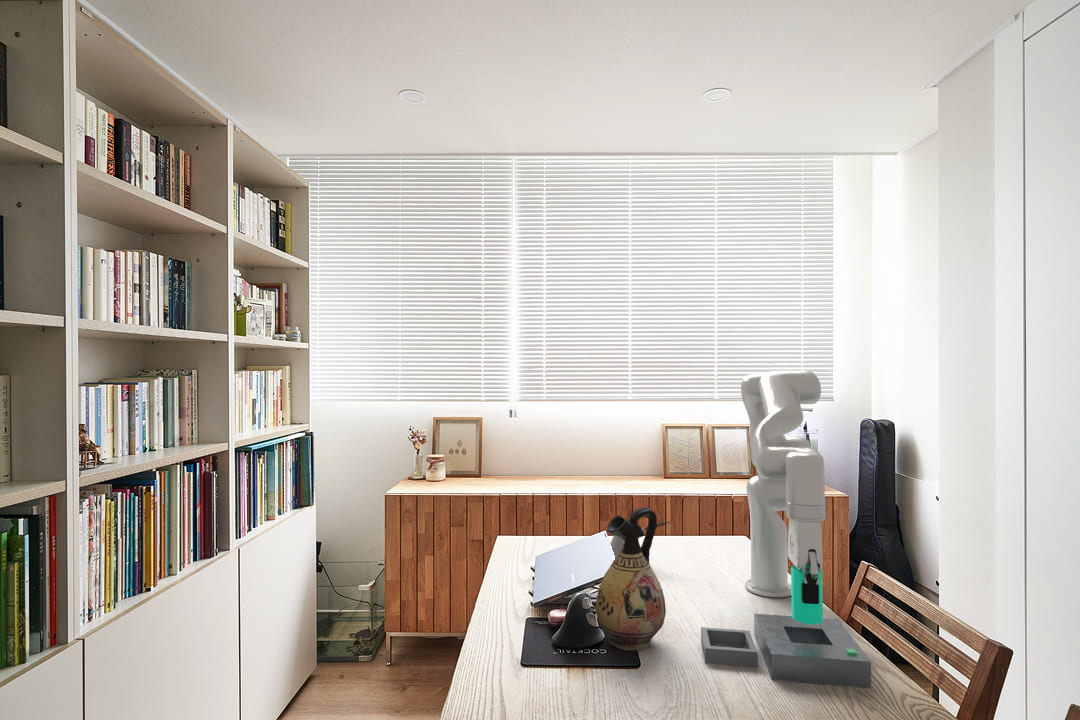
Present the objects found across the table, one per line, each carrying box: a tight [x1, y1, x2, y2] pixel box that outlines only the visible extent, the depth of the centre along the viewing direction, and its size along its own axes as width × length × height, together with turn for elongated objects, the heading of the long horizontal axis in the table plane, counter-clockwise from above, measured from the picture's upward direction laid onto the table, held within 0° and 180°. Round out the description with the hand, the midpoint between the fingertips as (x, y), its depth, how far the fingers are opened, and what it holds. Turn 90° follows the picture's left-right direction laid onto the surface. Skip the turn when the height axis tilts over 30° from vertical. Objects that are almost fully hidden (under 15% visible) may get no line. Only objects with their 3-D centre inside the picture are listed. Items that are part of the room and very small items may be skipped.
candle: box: [790, 564, 824, 625], centre depth 125 cm, size 6×6×12 cm
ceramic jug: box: [595, 507, 667, 651], centre depth 134 cm, size 17×15×30 cm
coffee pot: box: [609, 518, 672, 559], centre depth 188 cm, size 21×12×15 cm, turn 54°
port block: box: [753, 613, 872, 689], centre depth 125 cm, size 20×18×6 cm
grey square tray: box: [700, 626, 759, 668], centre depth 128 cm, size 10×10×3 cm
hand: (806, 597), depth 125 cm, fingers closed on candle, 5 cm apart
